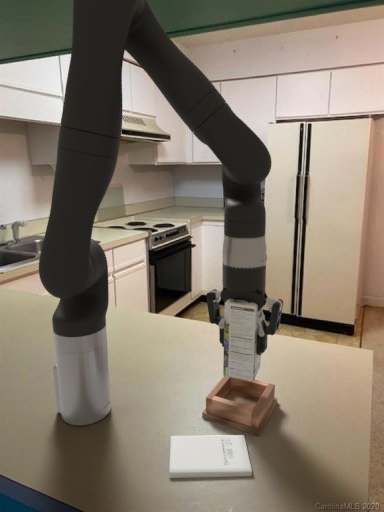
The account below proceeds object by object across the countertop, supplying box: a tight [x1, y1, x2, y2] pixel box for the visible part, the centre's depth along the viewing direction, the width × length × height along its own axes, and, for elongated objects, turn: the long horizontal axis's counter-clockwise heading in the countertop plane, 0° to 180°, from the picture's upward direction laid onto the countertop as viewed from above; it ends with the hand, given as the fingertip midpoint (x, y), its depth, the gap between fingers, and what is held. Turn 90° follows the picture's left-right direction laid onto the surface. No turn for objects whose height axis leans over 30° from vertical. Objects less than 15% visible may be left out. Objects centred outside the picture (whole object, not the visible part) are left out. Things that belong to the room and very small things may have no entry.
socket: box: [201, 375, 278, 437], centre depth 73 cm, size 11×11×4 cm
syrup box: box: [222, 299, 264, 381], centre depth 70 cm, size 6×6×14 cm
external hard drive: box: [168, 434, 253, 479], centre depth 62 cm, size 2×8×12 cm
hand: (242, 349), depth 71 cm, fingers closed on syrup box, 6 cm apart
